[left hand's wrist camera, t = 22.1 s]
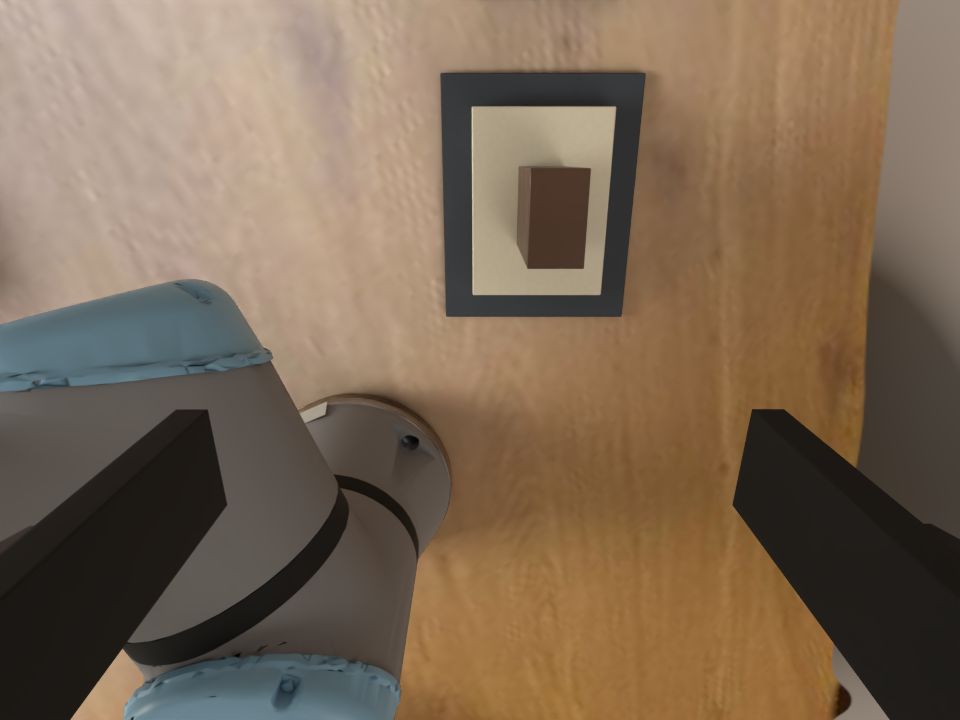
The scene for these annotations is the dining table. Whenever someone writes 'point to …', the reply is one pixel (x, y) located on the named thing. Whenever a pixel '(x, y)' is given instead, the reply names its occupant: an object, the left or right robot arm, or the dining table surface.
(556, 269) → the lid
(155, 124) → the dining table surface
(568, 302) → the felt mat
